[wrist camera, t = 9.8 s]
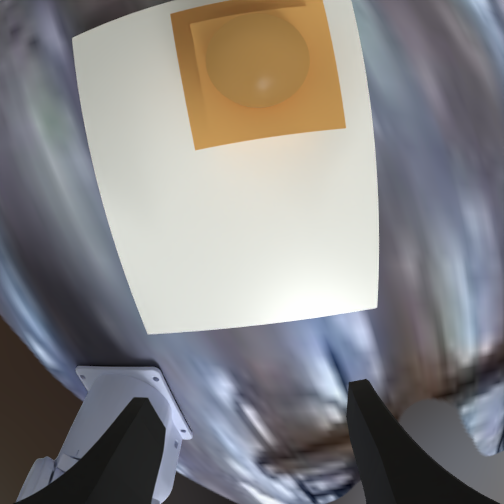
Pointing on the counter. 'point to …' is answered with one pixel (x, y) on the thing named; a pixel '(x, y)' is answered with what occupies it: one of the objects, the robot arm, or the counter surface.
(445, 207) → the counter surface
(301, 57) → the orange domed block
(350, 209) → the white board
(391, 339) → the counter surface
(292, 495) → the counter surface
